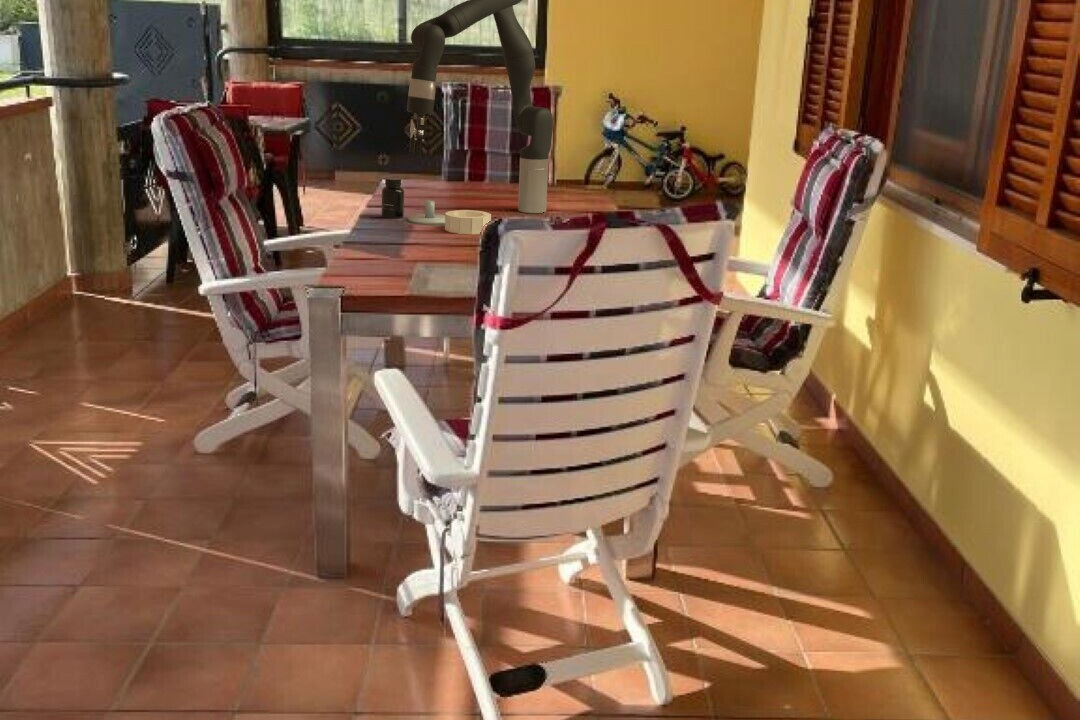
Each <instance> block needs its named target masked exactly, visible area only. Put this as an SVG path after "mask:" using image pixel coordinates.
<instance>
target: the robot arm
mask: <svg viewBox="0 0 1080 720" xmlns="http://www.w3.org/2000/svg"><path fill="white" fill-rule="evenodd" d="M522 1H523V0H465V1H462V2H460V3H458V4H456V5H454V6H453V7H451V8H449V9H448V10H446V11H445V12H443V13H442V14H441V15H438V16H435V17H433V18H430V19H428V20H426V21H423V22H421V23H419V24H418V25H416V27H414V28H413V30H412V32H411V35H410V41H411V44H412V46H414V48H416V49H417V50H419V51H421V53H420V56H419V57H418V58H416V59H414V60H413V63H412V69H411V77H410V78H411V79H410V82H409V83H410V84H409V88H408V96H407V105H406V111H407V112H408V113H413V115H412V116H411V117H410V126H409V127H410V128H409V133H408V135H409V138H410V143H409V152H410V153H411V154H414V155H421V154H422V151H423V142H424V141H425V139H426V132H427V131H426V130H427V121H428V118H427V117H426V115H428V116H432V115H433V113H434V106H435V98H436V81H437V73H438V71H437V70H438V67H439V64H440V61H441V59H442V55H443V53H444V50H445V46H446V45H445V44H446V39H447V38H453V37H455V36H458V35H459V34H460V33H463V32H464V31H465V30H466V29H469V28H470V27H471V26H473V25H475V24H477V23H479V22H480V21H482V20H483V19H485V18H487V17H489V16H493V19H494V21H495V25H496V29H497V30H496V31H497V33H498V37H499V41H500V45H501V51H502V56H503V57H502V58H503V61H504V65H505V68H506V73H507V76H508V82H509V86H510V92H511V97H512V98H511V99H512V104H513V105H512V106H513V107H512V108H513V113H514V121H515V125H516V128H517V131H518V132H519V133H520V134H521V135H524V136H529V137H531V140H530V144H528V145H526V146H523V147H522V148H521V149H520V151H519V173H518V174H519V176H518V177H519V178H518V200H517V205H518V206H517V212H521V213H526V214H543V212H544V213H546V212H547V204H548V203H547V201H548V182H549V181H548V180H549V179H548V177H549V157H550V156H549V155H550V152H551V149H552V141H553V130H554V117H553V114H552V112H551V111H550V109H549V108H547V107H541V106H534V105H533V103H532V98H531V94H530V93H531V91H530V89H531V84H532V80H533V78H534V74H535V71H536V60H535V55H534V49H533V45H532V43H531V40H530V39H529V37H528V35H527V33H526V32H525V31H524V30H525V29H523V27H522V25H521V24H520V22H519V21H518V19H517V17H516V14H515V11H514V7H513V6H515V5H518V4H520V3H521V2H522Z"/></svg>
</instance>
